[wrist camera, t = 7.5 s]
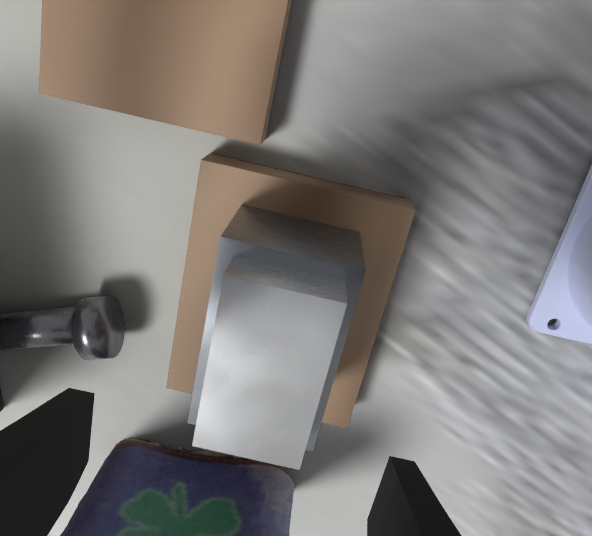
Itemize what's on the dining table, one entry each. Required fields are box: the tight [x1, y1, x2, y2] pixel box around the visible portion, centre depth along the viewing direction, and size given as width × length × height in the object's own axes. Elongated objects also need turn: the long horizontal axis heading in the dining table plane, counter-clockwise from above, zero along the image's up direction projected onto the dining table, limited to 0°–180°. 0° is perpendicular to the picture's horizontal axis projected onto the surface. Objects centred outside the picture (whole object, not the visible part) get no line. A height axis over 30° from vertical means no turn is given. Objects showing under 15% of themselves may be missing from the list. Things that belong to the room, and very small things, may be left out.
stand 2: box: [166, 154, 416, 428], centre depth 22 cm, size 8×10×2 cm
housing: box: [187, 204, 366, 470], centre depth 18 cm, size 4×7×6 cm, turn 167°
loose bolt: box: [0, 296, 124, 360], centre depth 22 cm, size 6×3×3 cm, turn 98°
